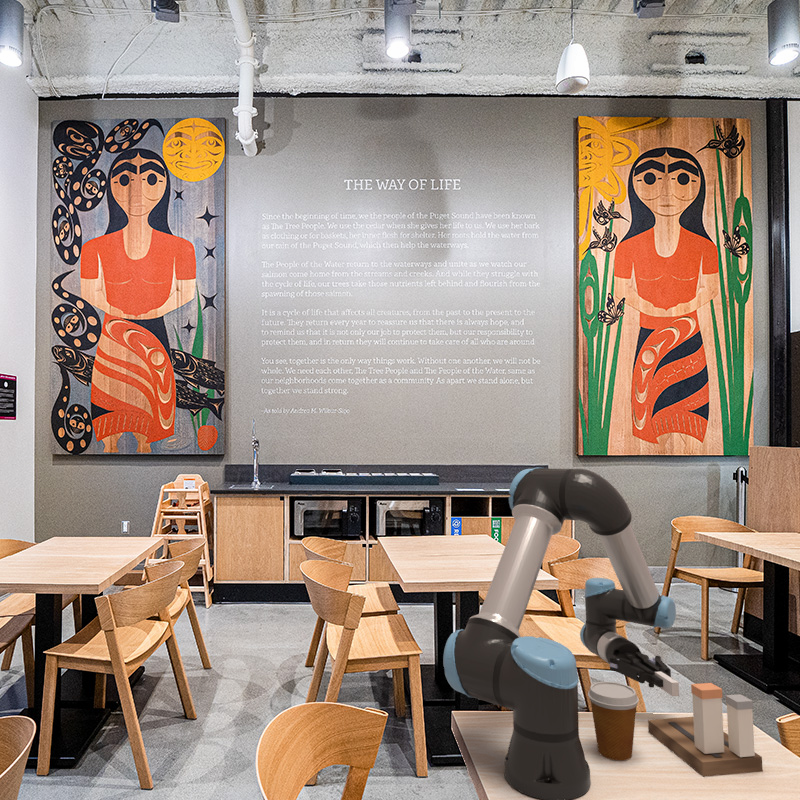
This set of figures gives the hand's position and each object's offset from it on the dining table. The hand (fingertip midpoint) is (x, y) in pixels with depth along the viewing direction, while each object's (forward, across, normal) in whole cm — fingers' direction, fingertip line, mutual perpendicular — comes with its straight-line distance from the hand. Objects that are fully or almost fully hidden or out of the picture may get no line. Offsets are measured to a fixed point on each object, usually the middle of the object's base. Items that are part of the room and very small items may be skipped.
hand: (675, 689), depth 127 cm
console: (+5, -2, -10) cm, 11 cm away
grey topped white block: (+13, -5, -7) cm, 16 cm away
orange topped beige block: (+11, 0, -7) cm, 13 cm away
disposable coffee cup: (+4, +16, -10) cm, 19 cm away
